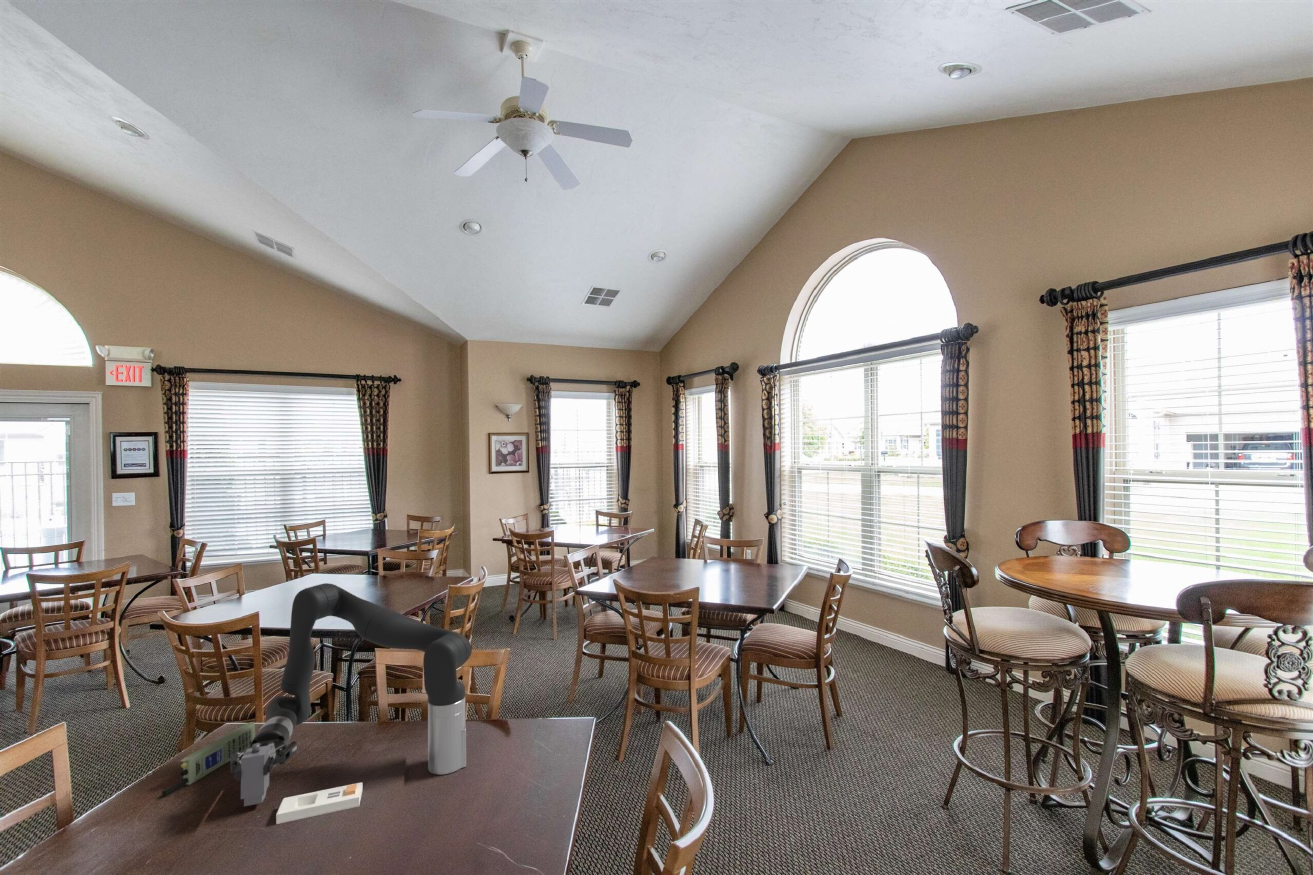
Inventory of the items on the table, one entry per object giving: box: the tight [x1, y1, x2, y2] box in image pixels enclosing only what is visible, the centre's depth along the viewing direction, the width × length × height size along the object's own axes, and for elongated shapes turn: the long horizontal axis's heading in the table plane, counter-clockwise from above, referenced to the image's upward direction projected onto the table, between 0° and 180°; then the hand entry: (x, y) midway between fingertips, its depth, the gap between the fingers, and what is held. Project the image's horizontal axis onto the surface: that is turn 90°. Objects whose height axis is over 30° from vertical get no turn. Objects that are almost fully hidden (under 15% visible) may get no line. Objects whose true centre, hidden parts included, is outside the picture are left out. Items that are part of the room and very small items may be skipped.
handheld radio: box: [161, 721, 256, 797], centre depth 147 cm, size 7×3×25 cm
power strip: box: [275, 782, 363, 825], centre depth 129 cm, size 22×6×4 cm, turn 112°
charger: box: [240, 743, 271, 807], centre depth 128 cm, size 4×4×12 cm
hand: (252, 773), depth 126 cm, fingers closed on charger, 4 cm apart
